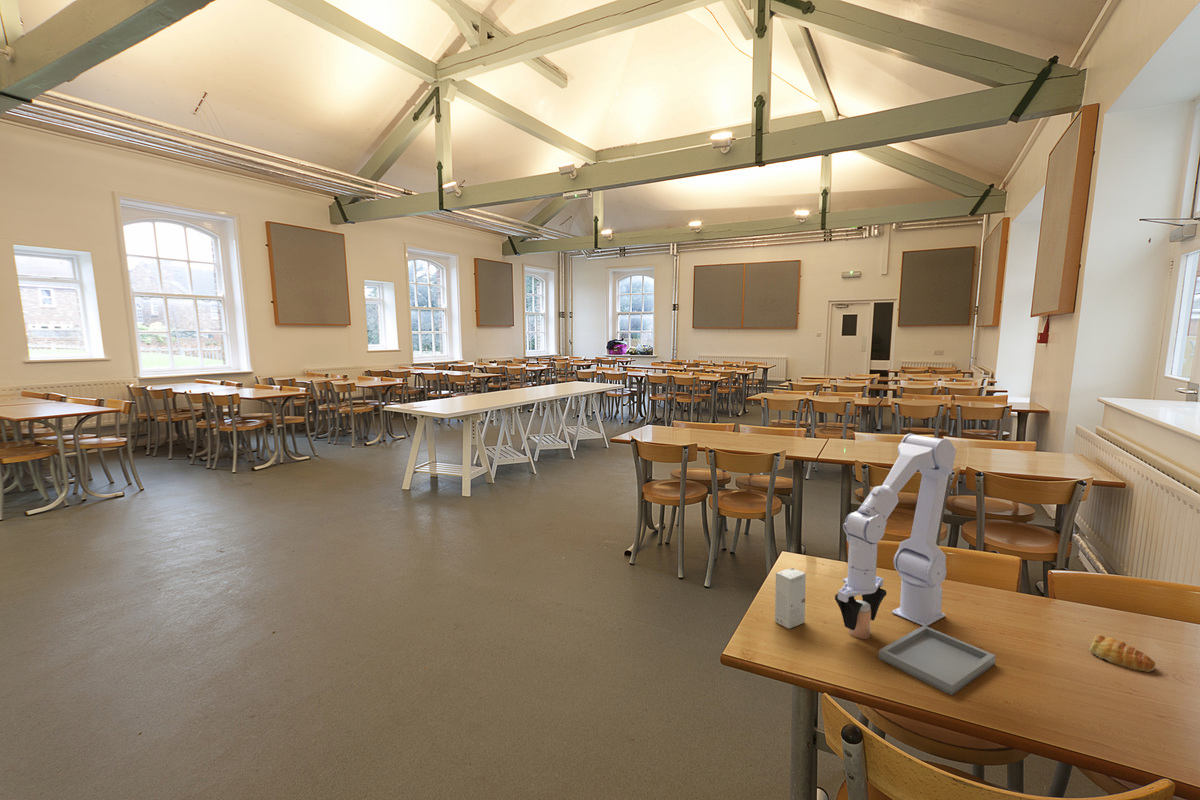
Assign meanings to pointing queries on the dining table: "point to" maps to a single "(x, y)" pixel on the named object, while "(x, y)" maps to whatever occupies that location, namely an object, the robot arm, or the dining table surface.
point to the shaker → (862, 622)
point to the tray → (937, 659)
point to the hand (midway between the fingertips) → (859, 623)
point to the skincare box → (790, 598)
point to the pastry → (1121, 654)
